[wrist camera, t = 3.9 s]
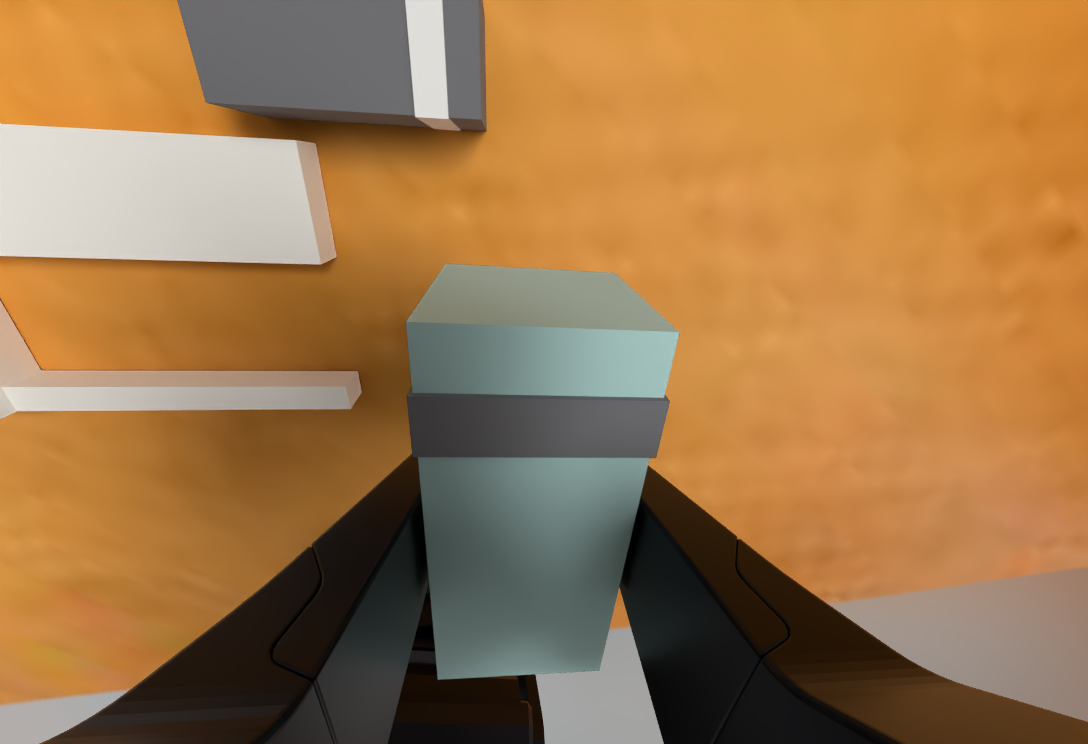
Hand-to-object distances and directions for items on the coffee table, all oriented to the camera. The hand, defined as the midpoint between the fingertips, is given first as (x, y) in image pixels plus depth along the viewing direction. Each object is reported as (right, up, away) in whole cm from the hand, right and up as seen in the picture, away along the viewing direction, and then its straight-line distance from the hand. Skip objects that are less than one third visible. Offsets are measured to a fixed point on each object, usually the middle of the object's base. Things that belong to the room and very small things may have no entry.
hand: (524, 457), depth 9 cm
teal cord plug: (0, +1, +1) cm, 1 cm away
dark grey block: (-6, +13, +5) cm, 15 cm away
